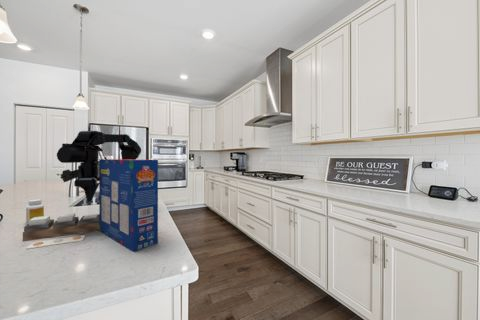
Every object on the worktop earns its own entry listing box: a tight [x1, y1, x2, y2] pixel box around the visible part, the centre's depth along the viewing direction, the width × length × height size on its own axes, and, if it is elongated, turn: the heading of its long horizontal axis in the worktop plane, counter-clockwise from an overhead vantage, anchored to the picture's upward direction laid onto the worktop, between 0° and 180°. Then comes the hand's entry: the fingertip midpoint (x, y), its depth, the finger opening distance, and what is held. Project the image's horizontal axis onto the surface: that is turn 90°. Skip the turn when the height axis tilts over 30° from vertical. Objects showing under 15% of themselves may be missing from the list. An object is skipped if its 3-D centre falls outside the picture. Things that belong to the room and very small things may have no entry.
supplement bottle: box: [25, 198, 45, 225], centre depth 88 cm, size 5×5×10 cm
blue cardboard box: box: [98, 158, 159, 253], centre depth 72 cm, size 28×8×28 cm, turn 52°
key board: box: [22, 213, 100, 242], centre depth 76 cm, size 22×7×5 cm, turn 119°
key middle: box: [56, 212, 76, 223], centre depth 76 cm, size 4×4×2 cm
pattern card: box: [25, 234, 86, 250], centre depth 68 cm, size 14×5×1 cm, turn 119°
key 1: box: [29, 215, 51, 226], centre depth 73 cm, size 4×4×2 cm
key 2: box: [82, 213, 98, 220], centre depth 80 cm, size 4×4×2 cm
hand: (89, 201), depth 80 cm, fingers closed
